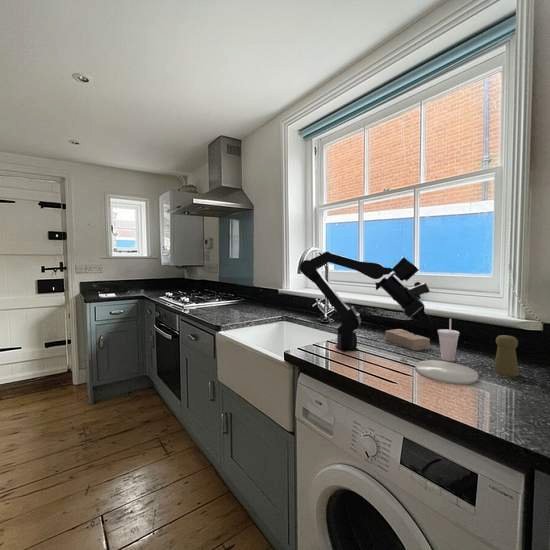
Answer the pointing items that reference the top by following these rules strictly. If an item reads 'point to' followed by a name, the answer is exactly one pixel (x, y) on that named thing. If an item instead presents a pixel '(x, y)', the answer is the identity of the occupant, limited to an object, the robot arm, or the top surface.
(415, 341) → the brick
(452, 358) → the smoothie
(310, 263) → the robot arm
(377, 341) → the top surface
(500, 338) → the cork
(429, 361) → the plate
